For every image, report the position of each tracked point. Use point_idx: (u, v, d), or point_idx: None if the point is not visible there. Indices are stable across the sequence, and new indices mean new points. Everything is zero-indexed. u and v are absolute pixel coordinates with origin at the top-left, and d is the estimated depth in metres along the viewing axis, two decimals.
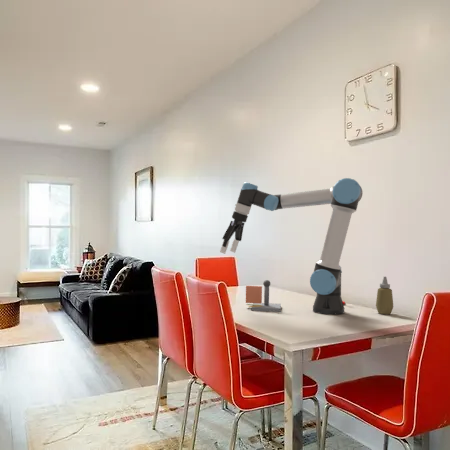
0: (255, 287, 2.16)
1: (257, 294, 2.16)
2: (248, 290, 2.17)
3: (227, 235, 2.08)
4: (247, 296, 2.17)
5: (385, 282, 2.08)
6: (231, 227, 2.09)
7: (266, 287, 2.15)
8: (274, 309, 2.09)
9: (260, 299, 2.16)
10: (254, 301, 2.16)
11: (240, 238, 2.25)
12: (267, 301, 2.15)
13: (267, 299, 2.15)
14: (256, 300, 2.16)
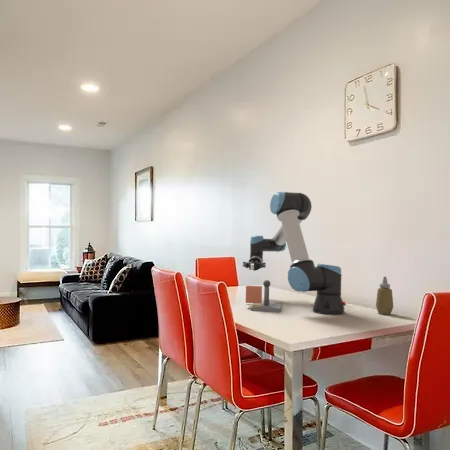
0: (255, 287, 2.16)
1: (257, 294, 2.16)
2: (248, 290, 2.17)
3: (245, 264, 2.30)
4: (247, 296, 2.17)
5: (385, 282, 2.08)
6: (244, 263, 2.34)
7: (266, 287, 2.15)
8: (274, 309, 2.09)
9: (260, 299, 2.16)
10: (254, 301, 2.16)
11: (257, 264, 2.28)
12: (267, 301, 2.15)
13: (267, 299, 2.15)
14: (256, 300, 2.16)
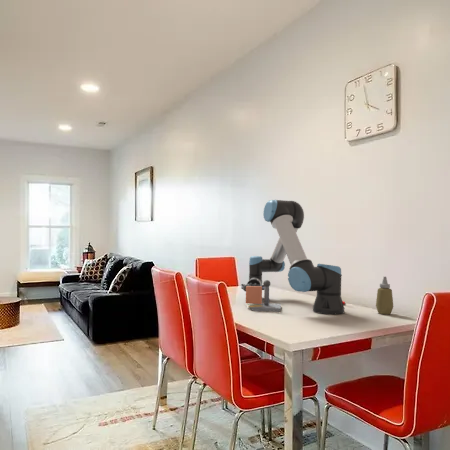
0: (255, 288, 2.15)
1: (257, 294, 2.15)
2: (248, 290, 2.15)
3: (244, 287, 2.27)
4: (247, 296, 2.15)
5: (385, 282, 2.08)
6: (243, 286, 2.31)
7: (266, 287, 2.15)
8: (274, 309, 2.09)
9: (260, 299, 2.15)
10: (254, 301, 2.15)
11: None
12: (267, 301, 2.15)
13: (267, 299, 2.15)
14: (256, 300, 2.15)
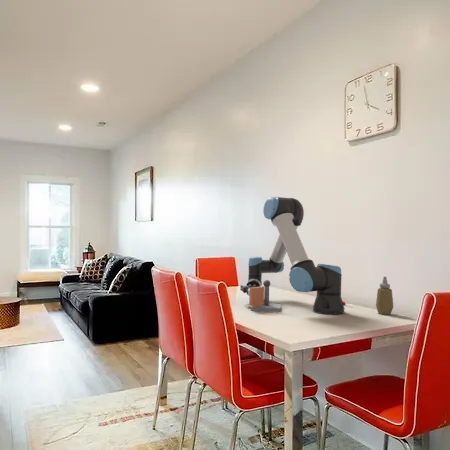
0: (259, 288, 2.12)
1: (260, 295, 2.13)
2: (253, 292, 2.10)
3: (243, 288, 2.21)
4: (252, 298, 2.10)
5: (385, 282, 2.08)
6: (242, 287, 2.26)
7: (268, 287, 2.15)
8: (274, 309, 2.09)
9: (263, 300, 2.14)
10: (258, 302, 2.12)
11: None
12: (268, 301, 2.16)
13: (268, 299, 2.16)
14: (259, 301, 2.13)
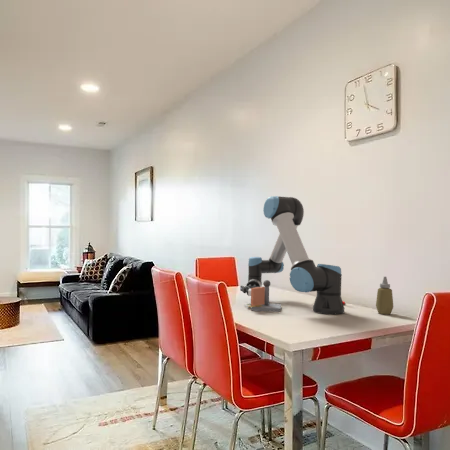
0: (260, 289, 2.12)
1: (261, 295, 2.13)
2: (255, 292, 2.10)
3: (243, 289, 2.19)
4: (254, 299, 2.09)
5: (385, 282, 2.08)
6: (242, 288, 2.24)
7: (268, 287, 2.15)
8: (274, 309, 2.09)
9: (263, 300, 2.14)
10: (259, 303, 2.12)
11: None
12: (268, 301, 2.16)
13: (268, 299, 2.16)
14: (260, 301, 2.12)
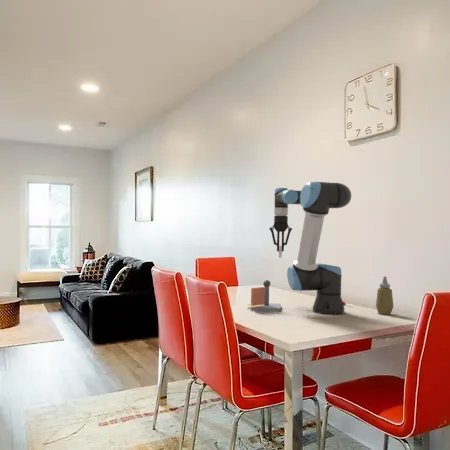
0: (260, 289, 2.12)
1: (261, 295, 2.13)
2: (255, 292, 2.09)
3: (273, 241, 2.41)
4: (254, 299, 2.09)
5: (385, 282, 2.08)
6: None
7: (268, 287, 2.15)
8: (274, 309, 2.09)
9: (263, 300, 2.14)
10: (259, 303, 2.12)
11: (285, 243, 2.39)
12: (268, 301, 2.16)
13: (268, 299, 2.16)
14: (260, 301, 2.12)
